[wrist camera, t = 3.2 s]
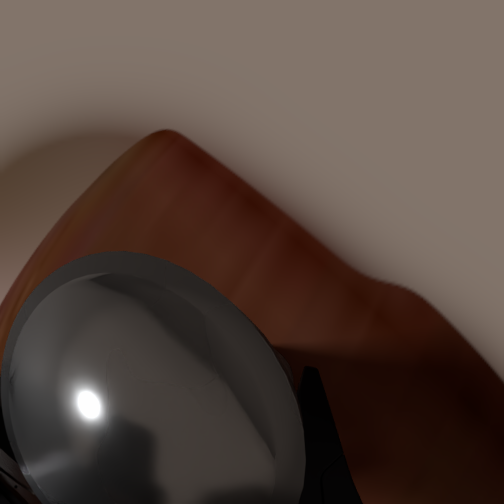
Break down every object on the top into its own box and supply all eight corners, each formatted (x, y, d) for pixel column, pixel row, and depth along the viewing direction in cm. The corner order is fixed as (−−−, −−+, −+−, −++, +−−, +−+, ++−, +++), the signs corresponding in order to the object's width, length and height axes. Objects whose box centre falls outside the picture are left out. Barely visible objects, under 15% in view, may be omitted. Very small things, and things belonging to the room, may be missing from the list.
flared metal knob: (245, 440, 13) (114, 587, 1) (191, 373, 15) (-21, 361, 3) (317, 387, 14) (395, 482, 2) (259, 320, 16) (145, 184, 4)
